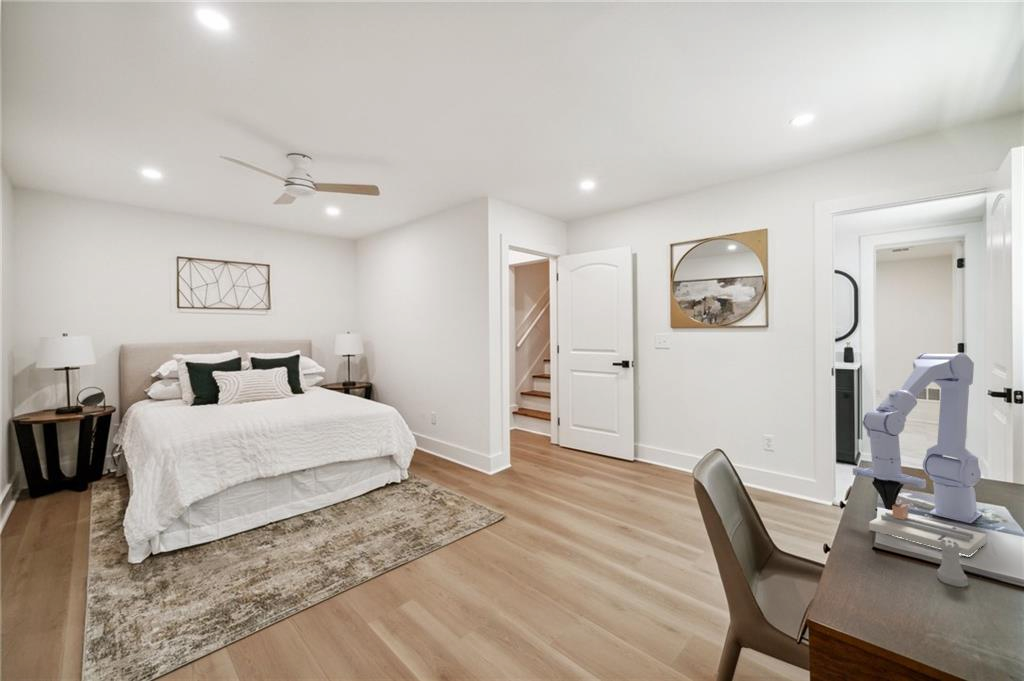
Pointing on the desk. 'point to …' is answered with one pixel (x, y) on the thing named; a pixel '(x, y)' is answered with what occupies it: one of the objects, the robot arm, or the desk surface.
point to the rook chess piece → (951, 565)
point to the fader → (900, 511)
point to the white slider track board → (928, 532)
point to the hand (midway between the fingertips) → (890, 508)
